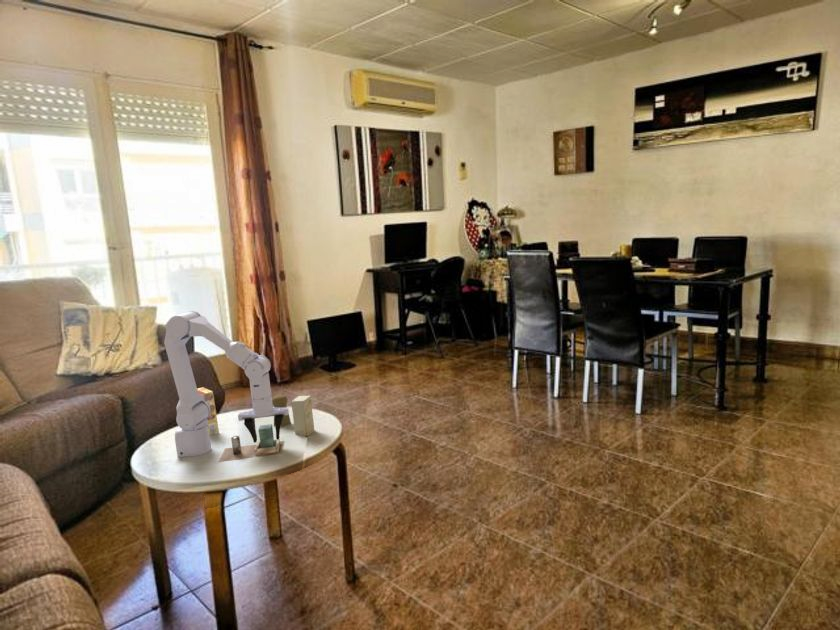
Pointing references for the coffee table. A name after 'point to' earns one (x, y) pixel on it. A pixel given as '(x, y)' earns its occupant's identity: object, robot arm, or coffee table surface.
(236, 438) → the brushed metal cylinder
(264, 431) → the peg
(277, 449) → the brown board
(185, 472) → the coffee table surface
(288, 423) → the cork
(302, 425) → the skincare box
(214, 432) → the candy box
